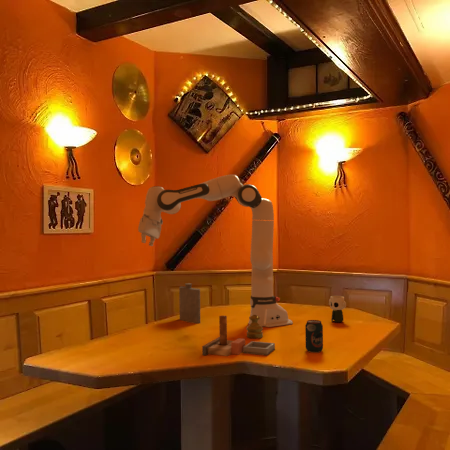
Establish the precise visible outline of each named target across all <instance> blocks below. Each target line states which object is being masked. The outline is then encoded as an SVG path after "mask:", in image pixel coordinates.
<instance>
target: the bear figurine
mask: <svg viewBox="0 0 450 450" xmlns="http://www.w3.org/2000/svg"><path fill="white" fill-rule="evenodd" d="M328 305H329V307H330V309H331V310H332V311H331V322H334V323H341V322H344V314H343V313H344V312H343V310H344V309H345V308H346V307H347V301H345V296H342V295H331V296H330V297H329V299H328Z"/></svg>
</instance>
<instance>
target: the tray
mask: <svg viewBox="0 0 450 450" xmlns="http://www.w3.org/2000/svg"><path fill="white" fill-rule="evenodd" d="M275 344H276V343H274V342H266V341H265V342H264V341H253V340H252V341H250V342H248V343H247V344H245V346H244V347H243V352H242V353H243V354H249V355H250V354H251V355H257V356H258V355H259V356H269V355H270V354H271V353H272V352H273V351H274V350H275V349H276V345H275Z"/></svg>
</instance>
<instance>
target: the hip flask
mask: <svg viewBox="0 0 450 450" xmlns="http://www.w3.org/2000/svg"><path fill="white" fill-rule="evenodd" d="M192 285H193V283H190V282H188V283H184V286H179V289H178V291H179V293H178V294H179V321H182V322H186V323H190V324H201V289H200V288H194V287H192Z"/></svg>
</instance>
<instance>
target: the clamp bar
mask: <svg viewBox="0 0 450 450" xmlns="http://www.w3.org/2000/svg"><path fill="white" fill-rule="evenodd" d="M218 342H220V336H219V337H217V338H214V339H212V340H210V341H209V342H207V343H205V344H203V345H202V346H201V347H202V349H201V350H202V356H207V355H209V354H208V348H209V347H211V346H212V345H214V344H216V343H218Z"/></svg>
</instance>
